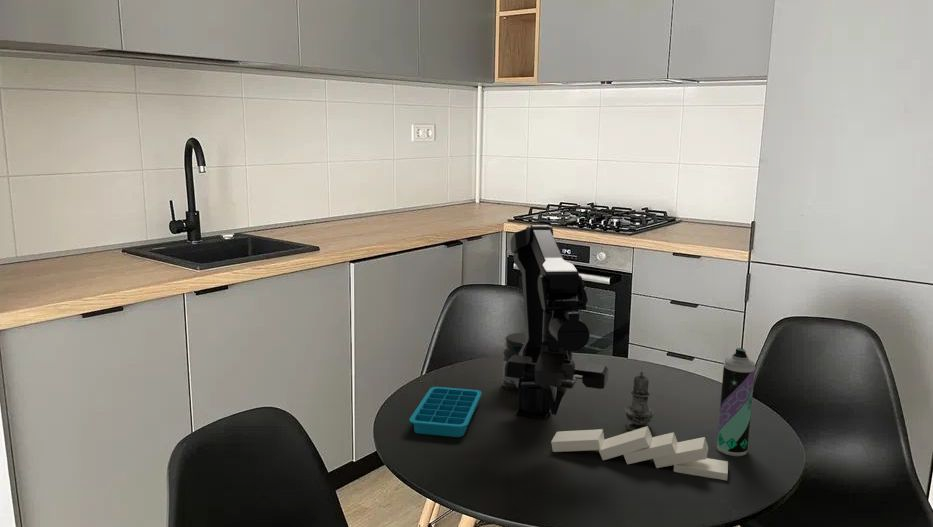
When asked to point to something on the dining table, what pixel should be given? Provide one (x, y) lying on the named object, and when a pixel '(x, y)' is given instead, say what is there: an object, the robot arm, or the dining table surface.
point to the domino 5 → (705, 468)
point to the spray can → (736, 404)
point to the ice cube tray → (445, 411)
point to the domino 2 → (625, 443)
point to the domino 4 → (685, 453)
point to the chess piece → (639, 405)
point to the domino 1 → (578, 440)
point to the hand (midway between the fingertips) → (554, 414)
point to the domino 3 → (654, 449)
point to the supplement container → (512, 348)
